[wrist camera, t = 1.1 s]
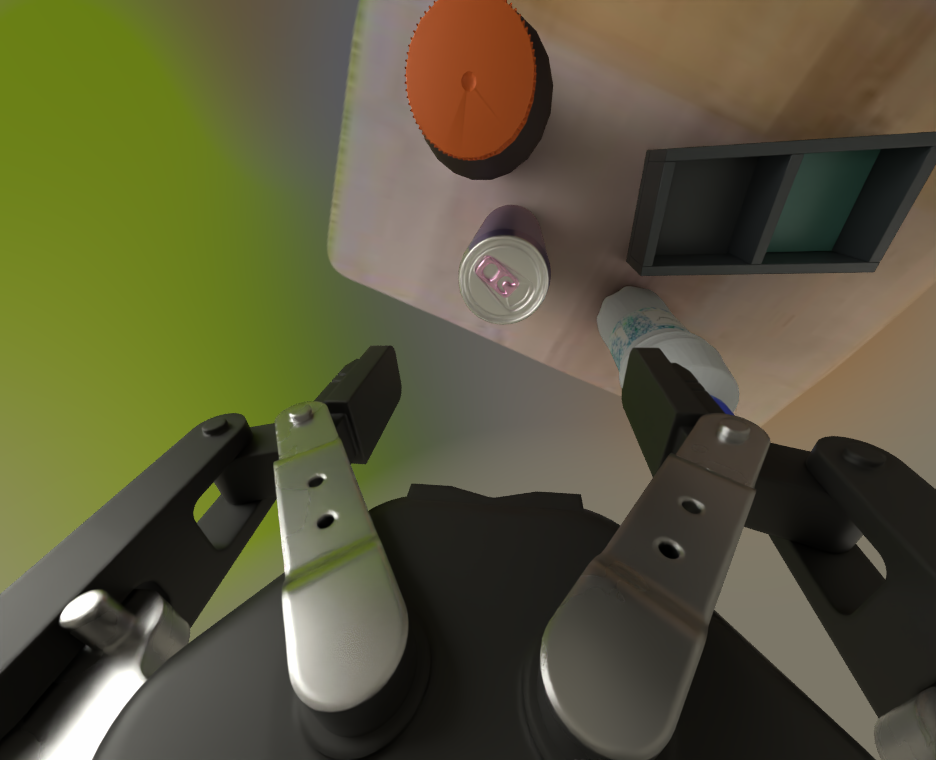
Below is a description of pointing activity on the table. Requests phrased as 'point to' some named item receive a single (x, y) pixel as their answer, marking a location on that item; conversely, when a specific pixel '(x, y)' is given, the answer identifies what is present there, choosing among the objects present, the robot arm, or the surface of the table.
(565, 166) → the table surface
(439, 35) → the vinegar
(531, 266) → the beverage can
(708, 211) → the divided tray
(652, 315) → the bottle
